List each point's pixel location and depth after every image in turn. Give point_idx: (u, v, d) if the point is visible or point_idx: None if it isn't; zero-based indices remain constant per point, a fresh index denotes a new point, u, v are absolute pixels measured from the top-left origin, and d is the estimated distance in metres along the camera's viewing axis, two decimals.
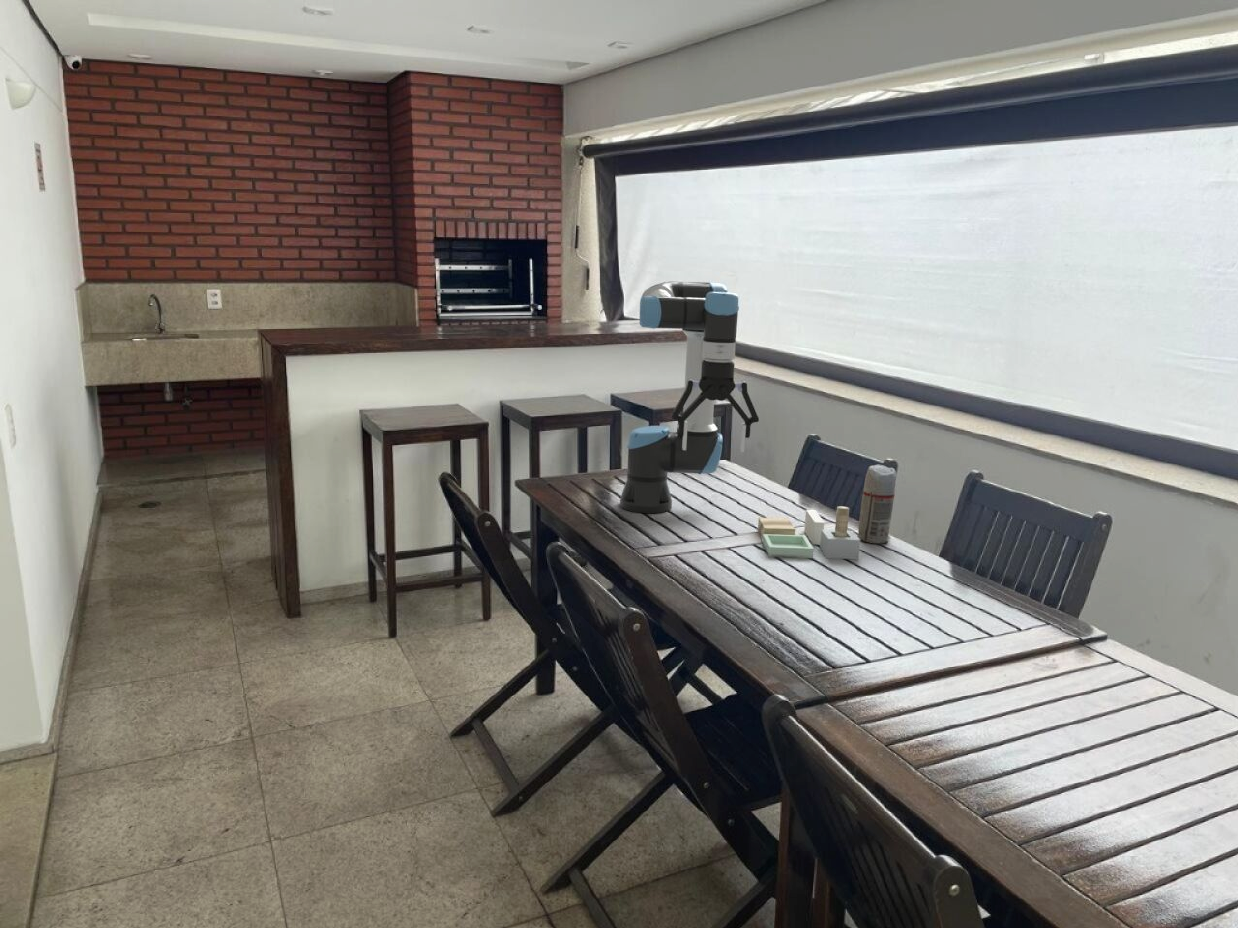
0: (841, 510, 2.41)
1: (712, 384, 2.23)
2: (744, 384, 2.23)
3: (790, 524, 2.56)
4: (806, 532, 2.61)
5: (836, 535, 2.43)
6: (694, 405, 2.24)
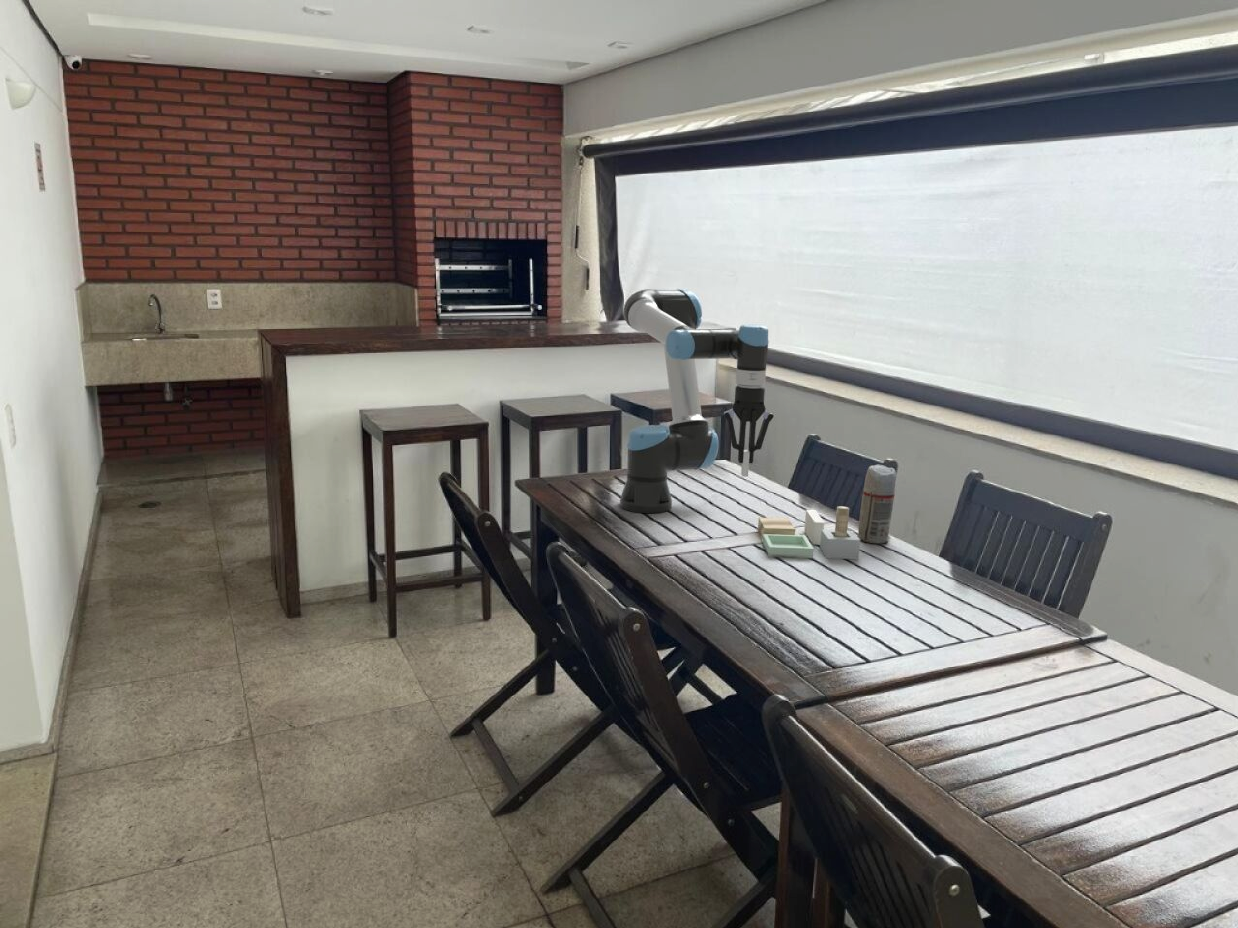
0: (841, 510, 2.41)
1: (743, 403, 2.48)
2: (771, 415, 2.49)
3: (790, 524, 2.56)
4: (806, 532, 2.61)
5: (836, 535, 2.43)
6: (742, 432, 2.50)
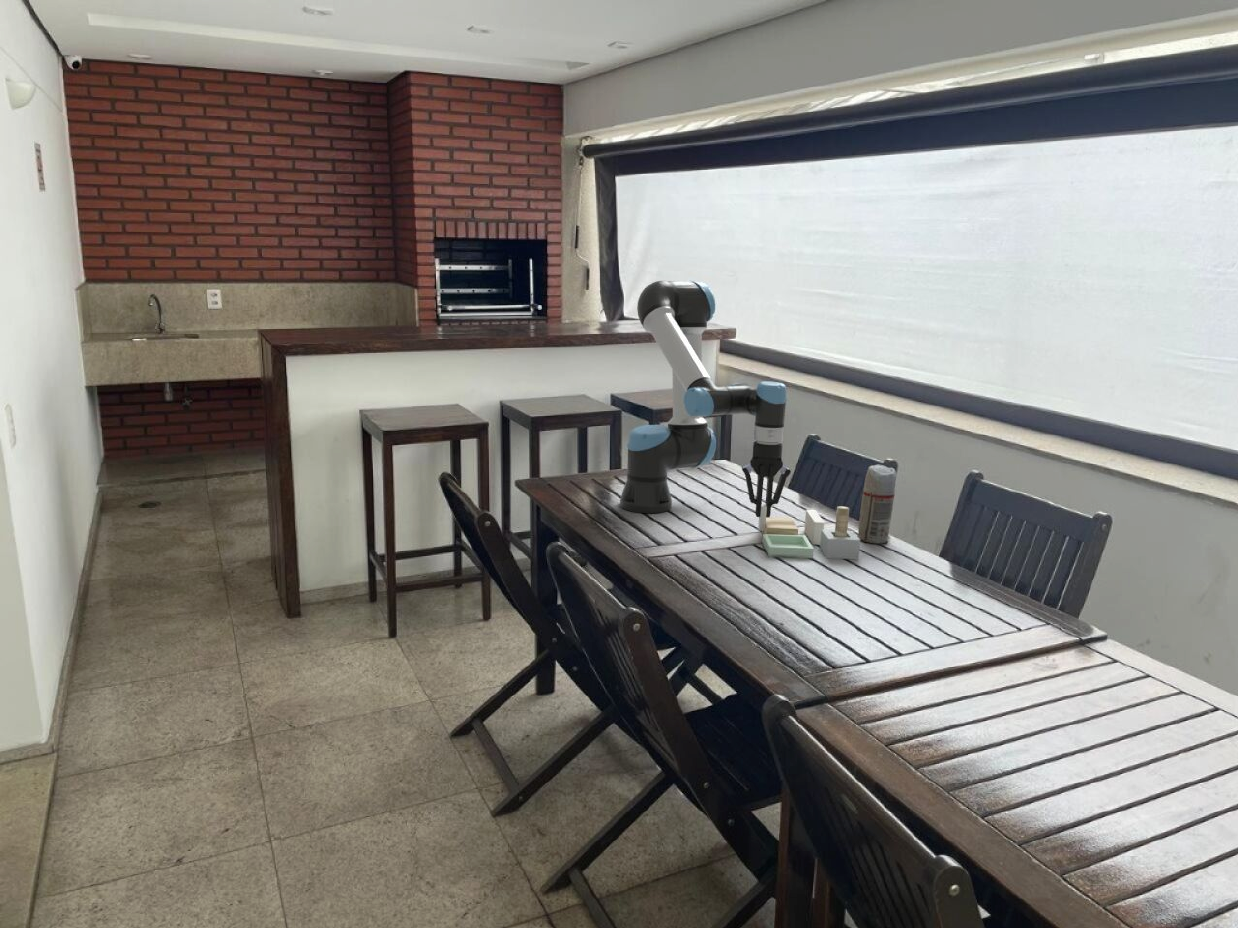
0: (841, 510, 2.41)
1: (760, 458, 2.52)
2: (789, 471, 2.52)
3: (793, 524, 2.56)
4: (806, 532, 2.61)
5: (836, 535, 2.43)
6: (759, 487, 2.53)
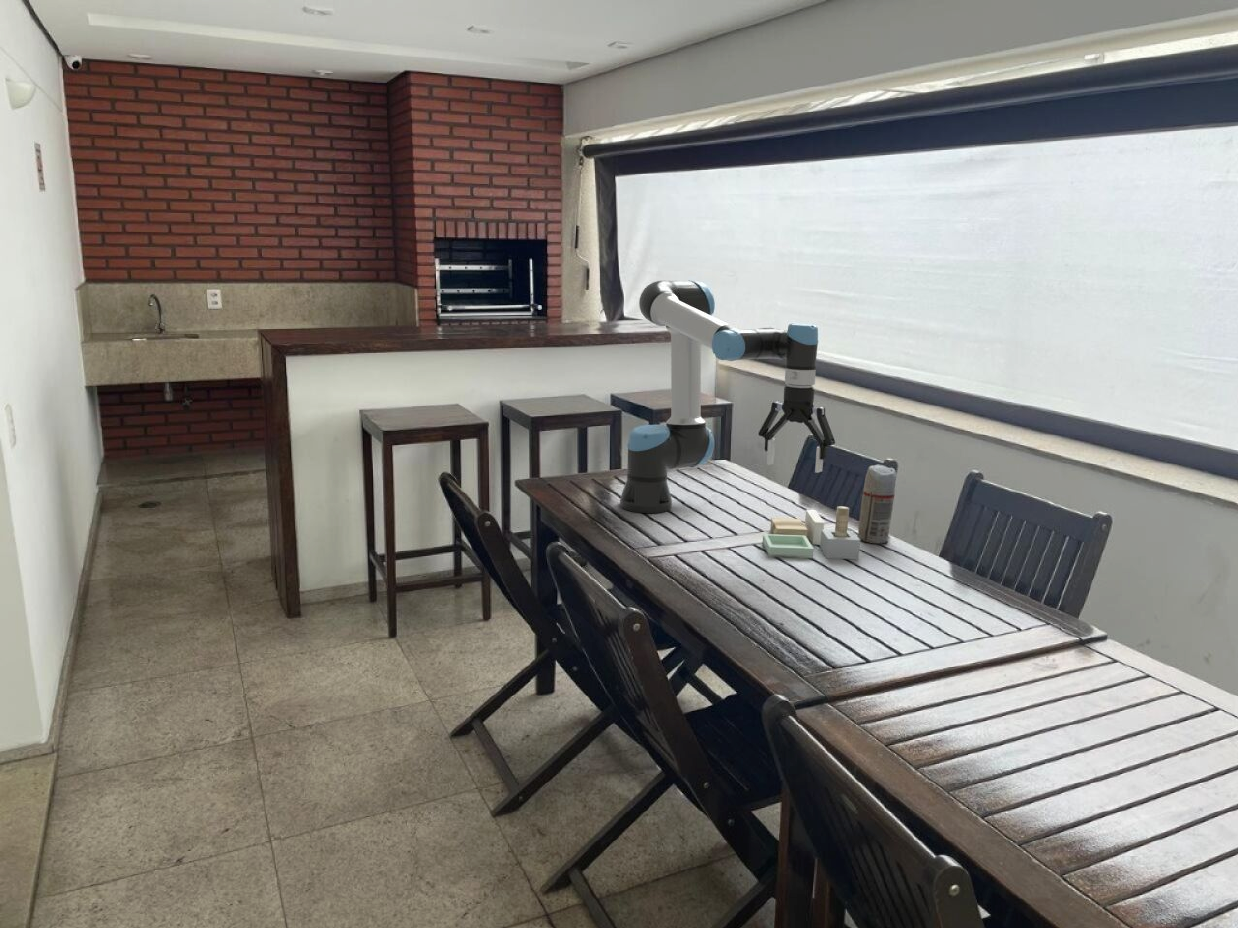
0: (841, 510, 2.41)
1: (791, 407, 2.45)
2: (818, 409, 2.40)
3: (802, 525, 2.56)
4: None
5: (836, 535, 2.43)
6: (776, 425, 2.48)
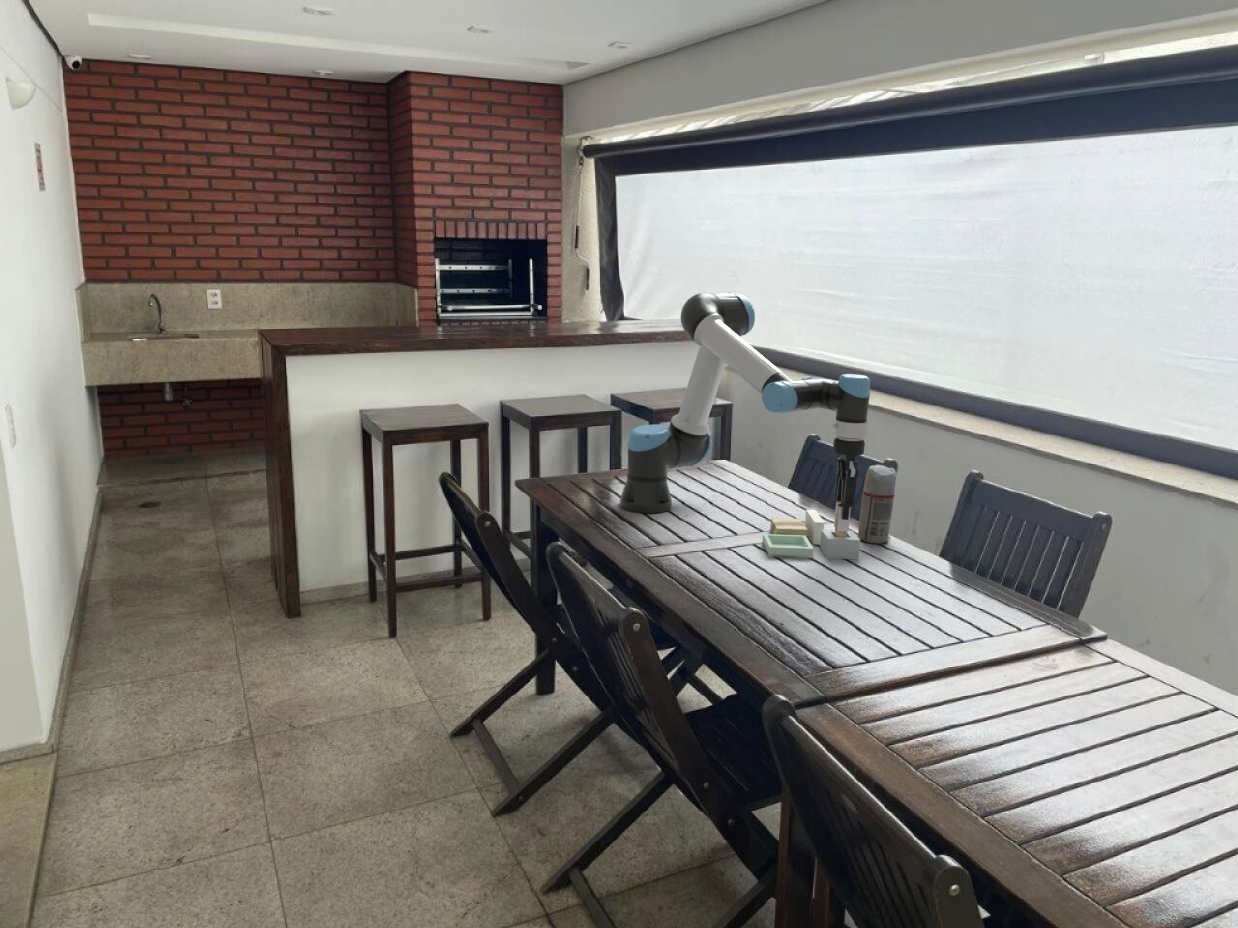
0: None
1: None
2: (847, 470, 2.34)
3: (802, 525, 2.56)
4: None
5: (836, 535, 2.43)
6: (838, 482, 2.43)
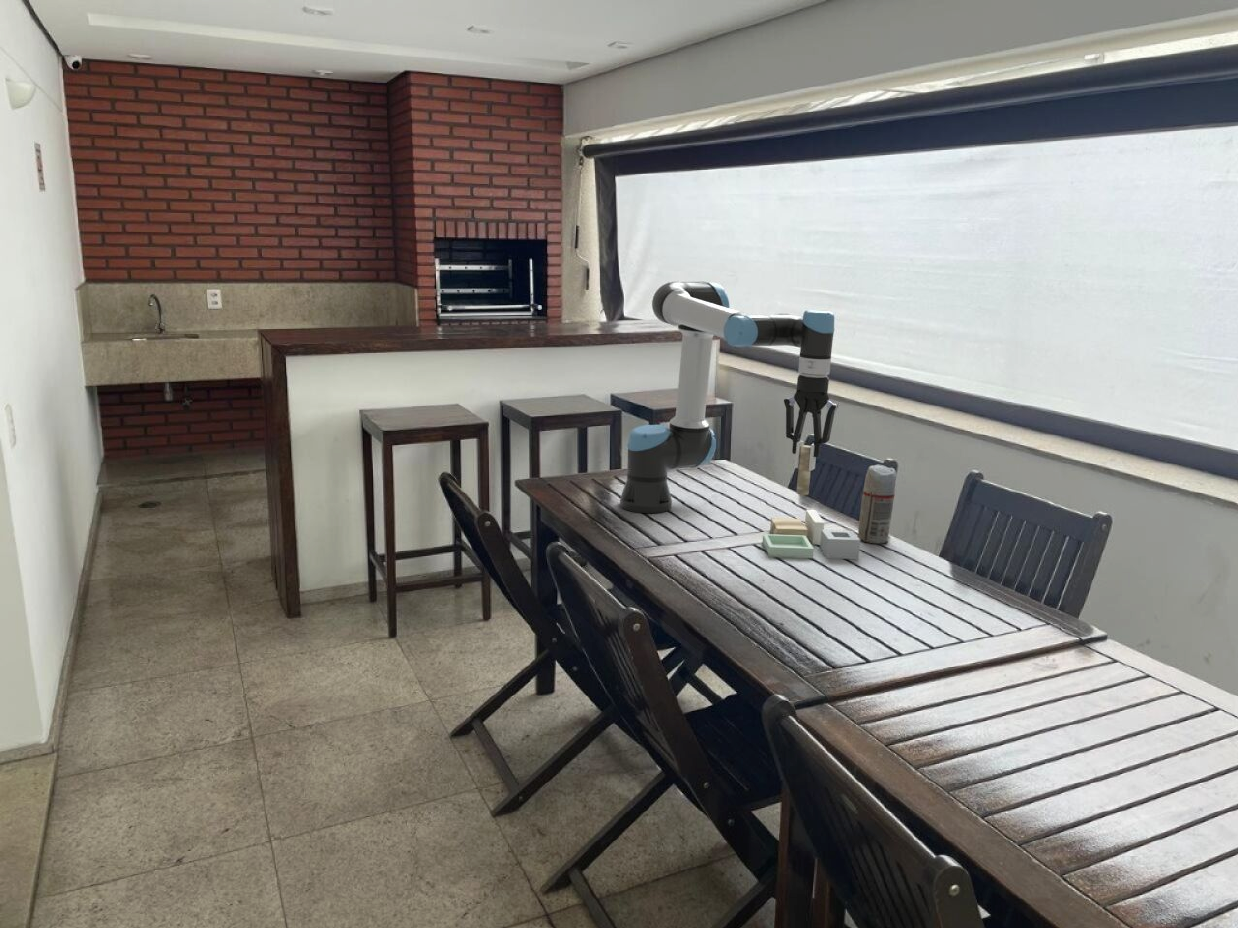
0: None
1: (804, 393, 2.37)
2: (833, 406, 2.34)
3: (802, 525, 2.56)
4: None
5: (805, 475, 2.40)
6: (798, 422, 2.39)
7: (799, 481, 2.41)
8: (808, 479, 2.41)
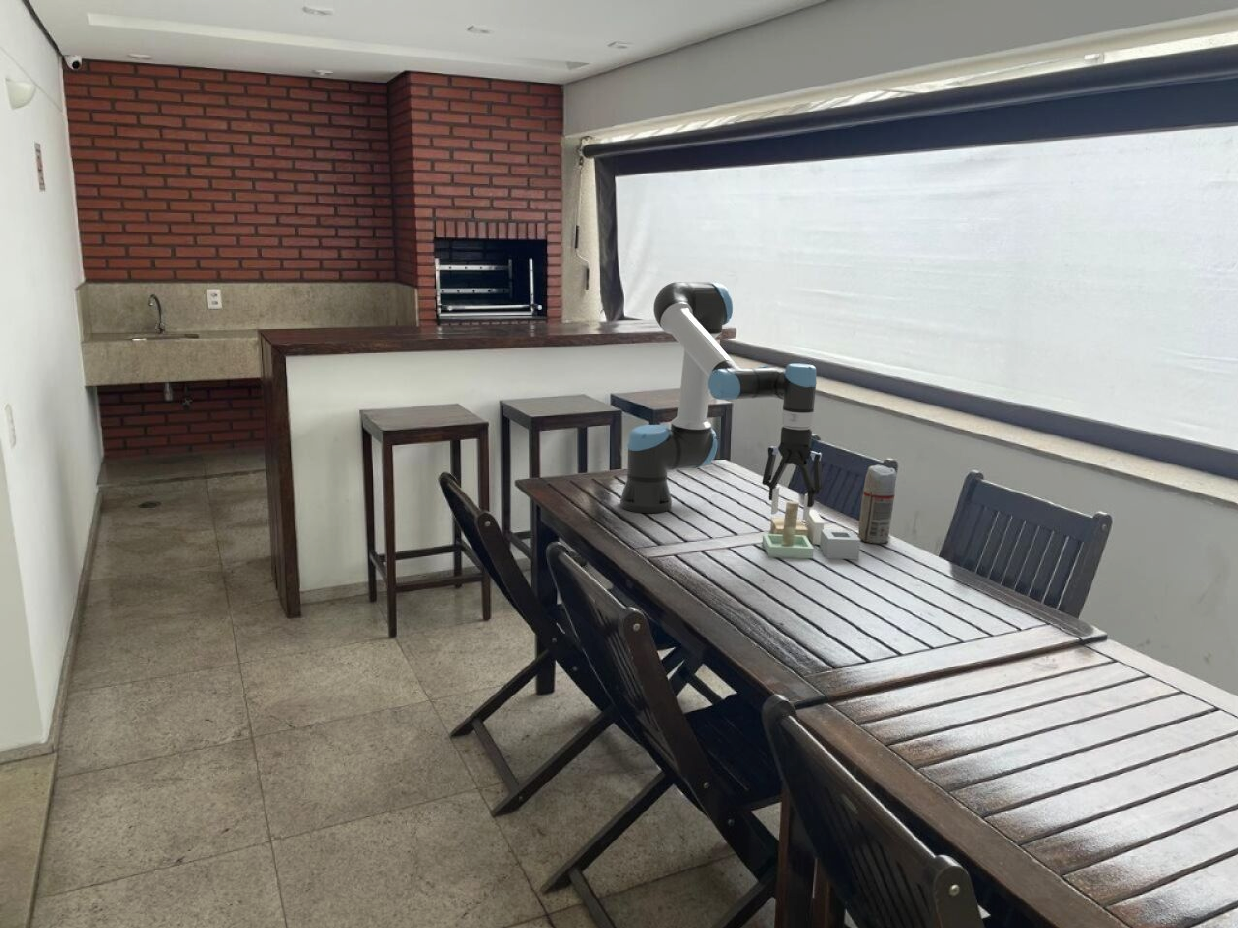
0: (796, 505, 2.42)
1: (788, 446, 2.40)
2: (817, 456, 2.36)
3: (802, 525, 2.56)
4: None
5: (790, 531, 2.43)
6: (777, 471, 2.42)
7: (784, 536, 2.44)
8: (793, 534, 2.44)
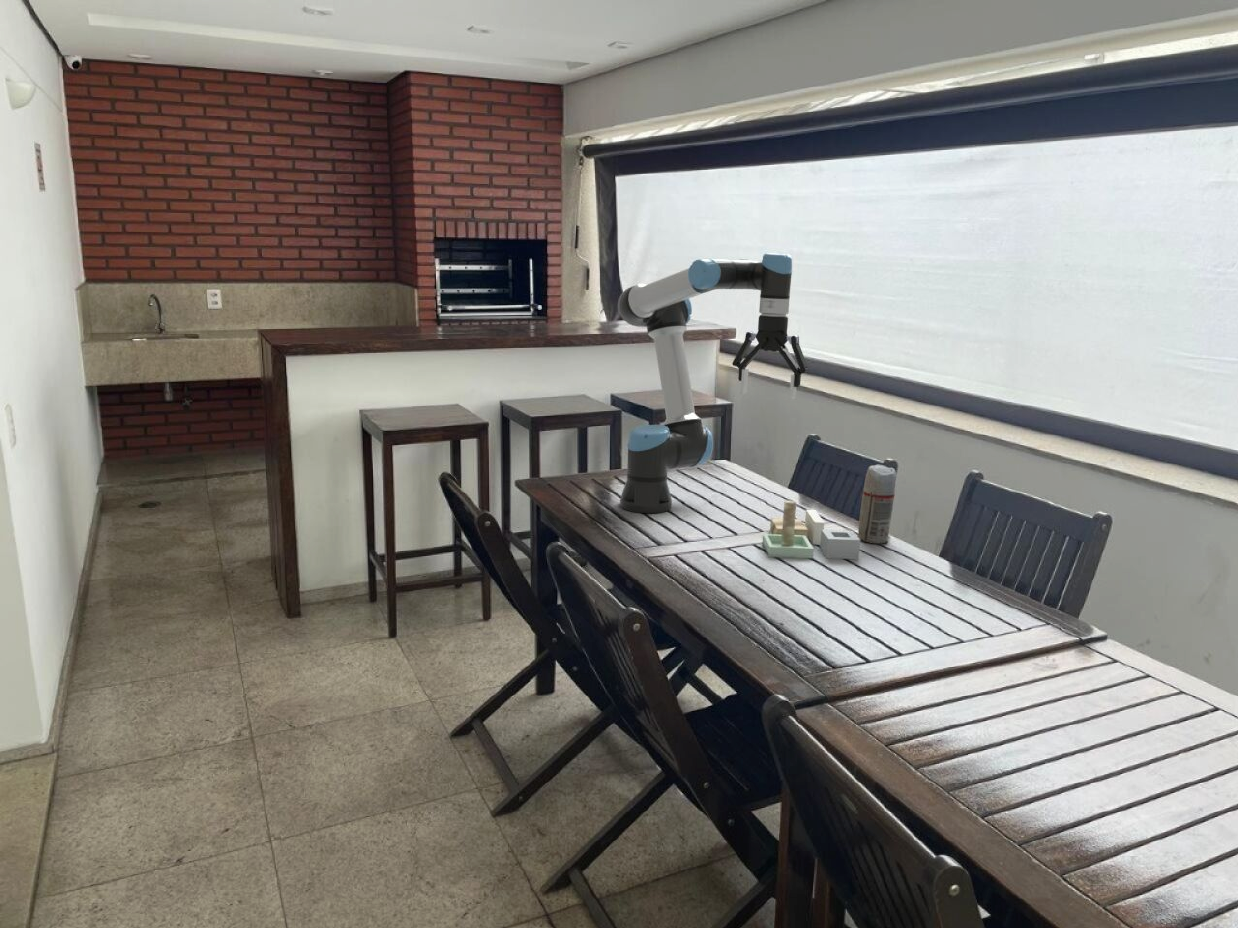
0: (794, 504, 2.42)
1: (766, 336, 2.50)
2: (793, 337, 2.47)
3: (802, 525, 2.56)
4: None
5: (789, 530, 2.43)
6: (750, 354, 2.53)
7: (783, 536, 2.44)
8: (792, 534, 2.44)
